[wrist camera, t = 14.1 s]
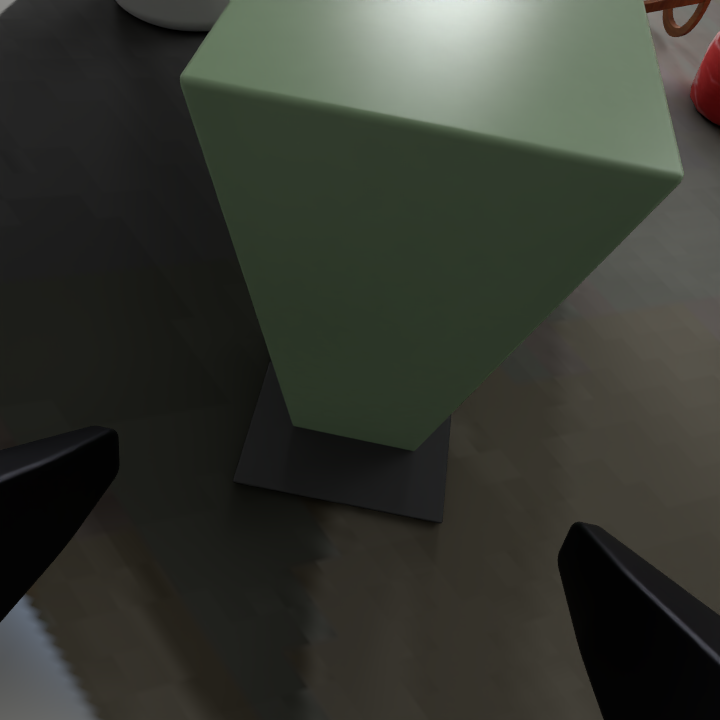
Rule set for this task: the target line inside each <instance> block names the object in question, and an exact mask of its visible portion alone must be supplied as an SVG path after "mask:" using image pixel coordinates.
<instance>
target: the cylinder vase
mask: <svg viewBox="0 0 720 720" xmlns="http://www.w3.org/2000/svg"><path fill="white" fill-rule="evenodd" d="M115 1H116V2H117V3H118V4H119V5H120V6H121V7H122V8H123V9H125V10H126V11H127V12H129V13H130V14H132V15H133V16H135V17H137V18H139V19H141V20H143V21H145V22H148V23H150V24H153V25H156V26H160V27H164V28H169V29H174V30H182V31H210V30H211V29H212V27H213V26H214V24H215V23H216V21H217V20H218V18H219V17H220V15H221V14H222V12H223V11H224V9H225V8H226V6H227V5H228V3H229V2H230V0H115Z"/></svg>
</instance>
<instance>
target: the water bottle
mask: <svg viewBox="0 0 720 720" xmlns="http://www.w3.org/2000/svg"><path fill="white" fill-rule="evenodd" d="M690 97H691V99H692V101H693V103H694V105H695V107H696V109H697V110H698V112H700V113H701V114H702V115H703V116H705V117H706V118H707V119H709V120H710V121H711V122H713V123H715V124H717V125H720V31H719V32H718V34H717V35H716V36H715V38H714V39H713V40H712V42H711V43H710V45H709V47H708V49H707V52H706V54H705V56H704V58H703V61H702V63H701V65H700V68H699V70H698V72H697V74H696V77H695V79H694V82H693V84H692V87H691V93H690Z"/></svg>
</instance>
